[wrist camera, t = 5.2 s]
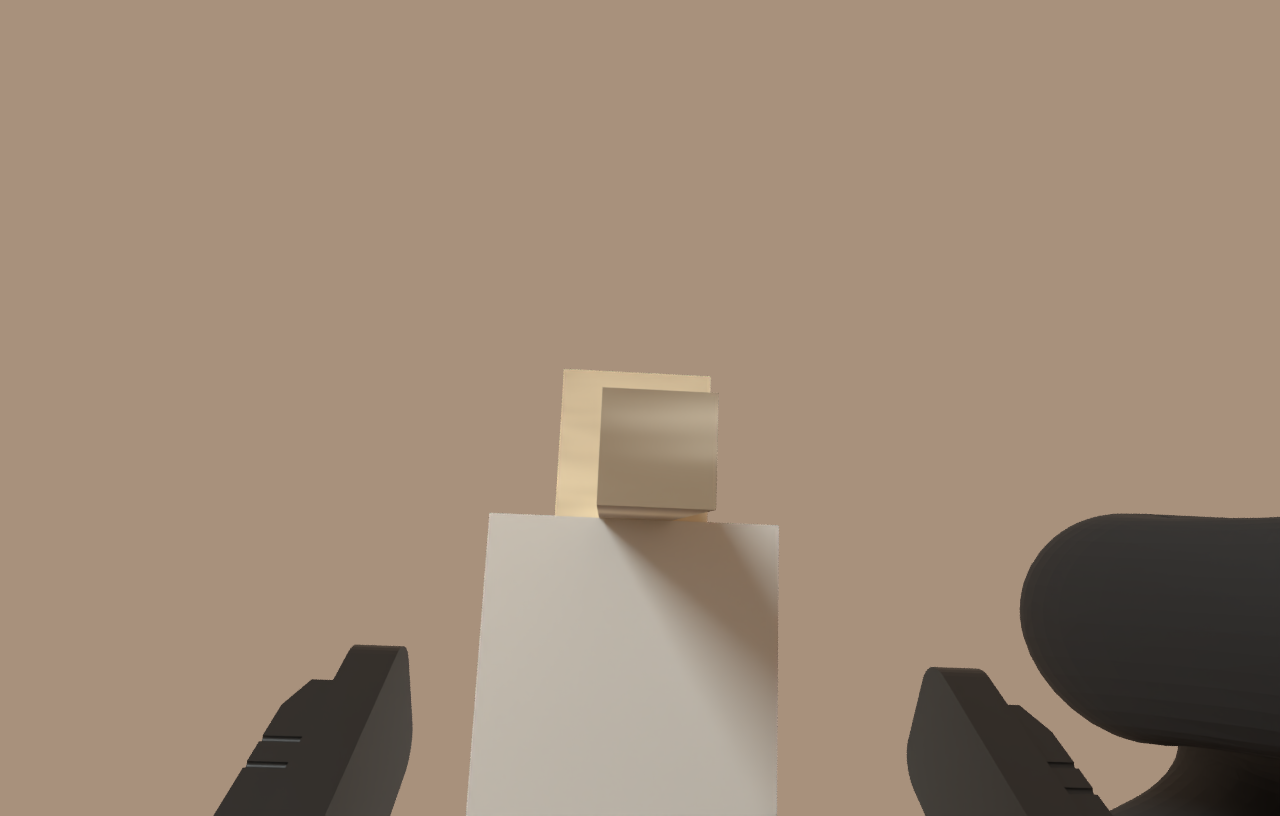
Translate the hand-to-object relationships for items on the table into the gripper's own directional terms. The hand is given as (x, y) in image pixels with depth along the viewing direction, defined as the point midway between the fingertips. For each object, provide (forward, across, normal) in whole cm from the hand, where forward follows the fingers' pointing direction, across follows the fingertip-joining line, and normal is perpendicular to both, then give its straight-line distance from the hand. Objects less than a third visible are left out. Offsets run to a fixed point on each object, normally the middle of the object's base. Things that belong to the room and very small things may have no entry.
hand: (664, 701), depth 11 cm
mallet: (+13, 0, +4) cm, 13 cm away
